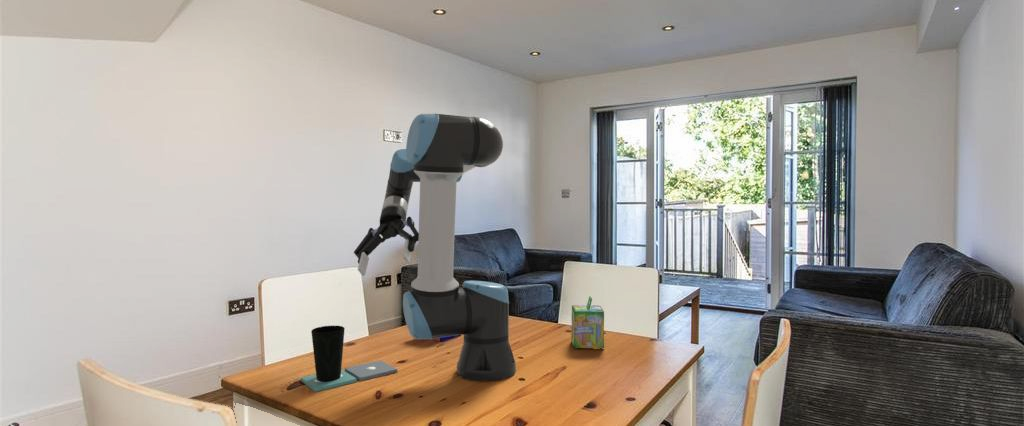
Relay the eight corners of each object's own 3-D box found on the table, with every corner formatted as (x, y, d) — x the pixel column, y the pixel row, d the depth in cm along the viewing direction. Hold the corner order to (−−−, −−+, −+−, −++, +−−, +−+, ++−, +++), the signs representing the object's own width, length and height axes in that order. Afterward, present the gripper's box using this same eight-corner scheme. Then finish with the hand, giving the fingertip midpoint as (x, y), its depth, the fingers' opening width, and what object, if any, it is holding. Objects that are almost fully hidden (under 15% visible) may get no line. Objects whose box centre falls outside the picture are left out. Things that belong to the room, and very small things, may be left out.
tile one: (397, 372, 130) (397, 368, 130) (360, 381, 124) (360, 377, 124) (380, 362, 138) (380, 359, 138) (344, 370, 131) (344, 367, 131)
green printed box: (571, 341, 159) (570, 294, 158) (600, 341, 158) (600, 294, 158) (573, 349, 149) (573, 300, 149) (604, 350, 149) (604, 300, 149)
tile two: (356, 382, 123) (356, 378, 123) (315, 392, 117) (315, 388, 117) (340, 371, 131) (340, 368, 131) (301, 380, 124) (300, 377, 124)
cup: (351, 375, 126) (351, 327, 125) (328, 385, 119) (328, 334, 118) (328, 370, 129) (328, 324, 129) (304, 380, 122) (304, 331, 122)
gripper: (436, 211, 153) (431, 263, 137) (363, 233, 157) (350, 285, 141) (426, 193, 148) (419, 245, 132) (351, 216, 152) (335, 269, 137)
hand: (383, 266), depth 137 cm, fingers open, 13 cm apart
